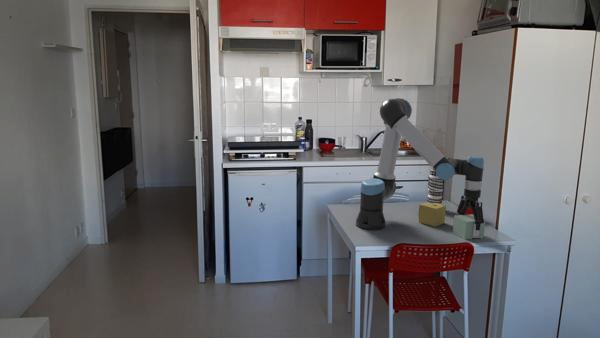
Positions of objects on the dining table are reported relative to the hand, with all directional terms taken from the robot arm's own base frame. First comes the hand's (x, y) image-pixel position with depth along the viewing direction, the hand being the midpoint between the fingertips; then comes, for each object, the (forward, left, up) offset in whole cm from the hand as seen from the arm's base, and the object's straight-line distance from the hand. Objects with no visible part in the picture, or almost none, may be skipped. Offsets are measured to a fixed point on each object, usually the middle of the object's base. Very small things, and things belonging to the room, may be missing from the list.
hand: (468, 232), depth 220 cm
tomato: (+15, +24, -2) cm, 28 cm away
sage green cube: (0, 0, -2) cm, 2 cm away
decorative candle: (+6, +44, -2) cm, 44 cm away
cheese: (-8, +21, -2) cm, 23 cm away
